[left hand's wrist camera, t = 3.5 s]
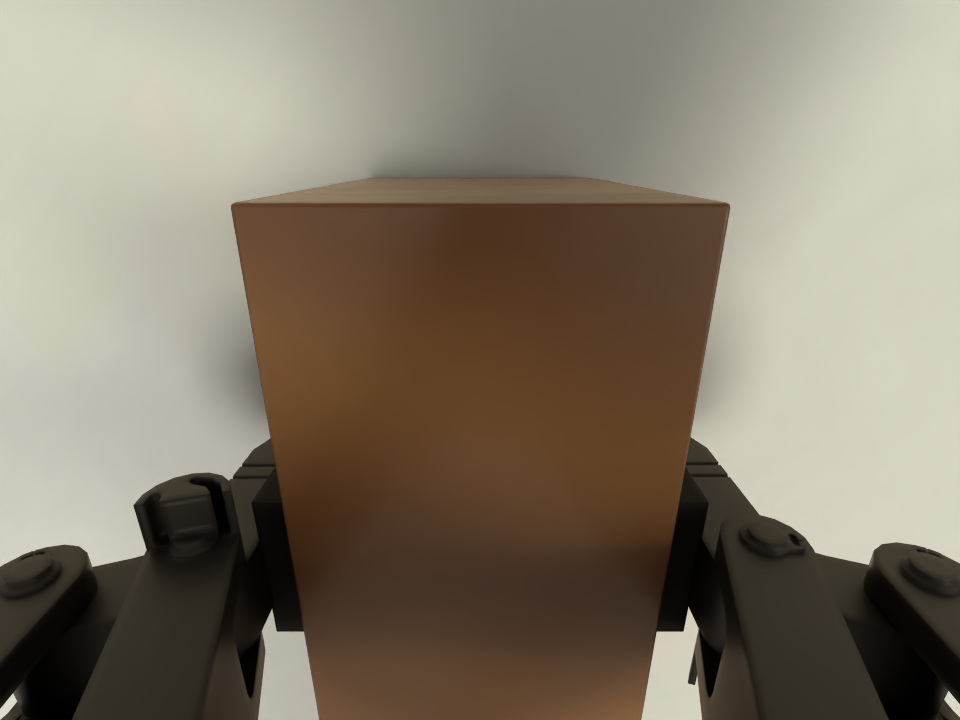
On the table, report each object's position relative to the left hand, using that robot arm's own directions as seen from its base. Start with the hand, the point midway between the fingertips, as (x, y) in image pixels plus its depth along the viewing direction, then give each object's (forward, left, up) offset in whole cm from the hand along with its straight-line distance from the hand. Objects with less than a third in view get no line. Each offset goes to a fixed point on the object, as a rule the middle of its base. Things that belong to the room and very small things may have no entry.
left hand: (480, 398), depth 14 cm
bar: (+35, +7, -1) cm, 35 cm away
